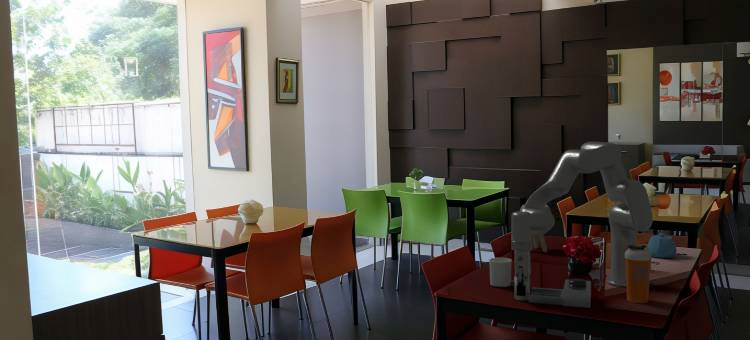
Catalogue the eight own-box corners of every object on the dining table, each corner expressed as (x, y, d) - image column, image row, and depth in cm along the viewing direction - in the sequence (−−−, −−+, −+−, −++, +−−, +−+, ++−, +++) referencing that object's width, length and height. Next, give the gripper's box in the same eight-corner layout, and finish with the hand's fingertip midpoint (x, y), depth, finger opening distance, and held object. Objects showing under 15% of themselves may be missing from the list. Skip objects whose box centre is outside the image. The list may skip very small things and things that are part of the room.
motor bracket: (590, 294, 245) (591, 274, 244) (590, 307, 229) (590, 286, 228) (532, 291, 252) (532, 271, 251) (528, 303, 236) (528, 282, 235)
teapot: (645, 236, 297) (648, 229, 313) (645, 259, 298) (647, 251, 314) (676, 238, 291) (677, 231, 307) (676, 262, 292) (676, 253, 308)
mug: (507, 289, 255) (507, 263, 254) (485, 286, 260) (485, 261, 259) (516, 282, 264) (516, 257, 263) (496, 280, 269) (495, 255, 268)
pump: (530, 296, 244) (530, 273, 243) (529, 301, 239) (529, 277, 238) (511, 295, 247) (511, 272, 246) (509, 299, 241) (509, 276, 240)
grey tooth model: (556, 253, 314) (556, 207, 312) (522, 254, 315) (522, 208, 313) (547, 246, 330) (547, 202, 328) (515, 247, 331) (515, 203, 329)
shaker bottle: (619, 297, 240) (620, 243, 238) (643, 296, 241) (643, 242, 239) (631, 304, 231) (632, 249, 230) (655, 303, 232) (656, 247, 230)
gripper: (529, 250, 231) (530, 300, 233) (534, 241, 248) (534, 288, 249) (508, 249, 234) (508, 299, 236) (514, 240, 250) (514, 286, 252)
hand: (522, 292), depth 242 cm, fingers closed on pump, 5 cm apart
